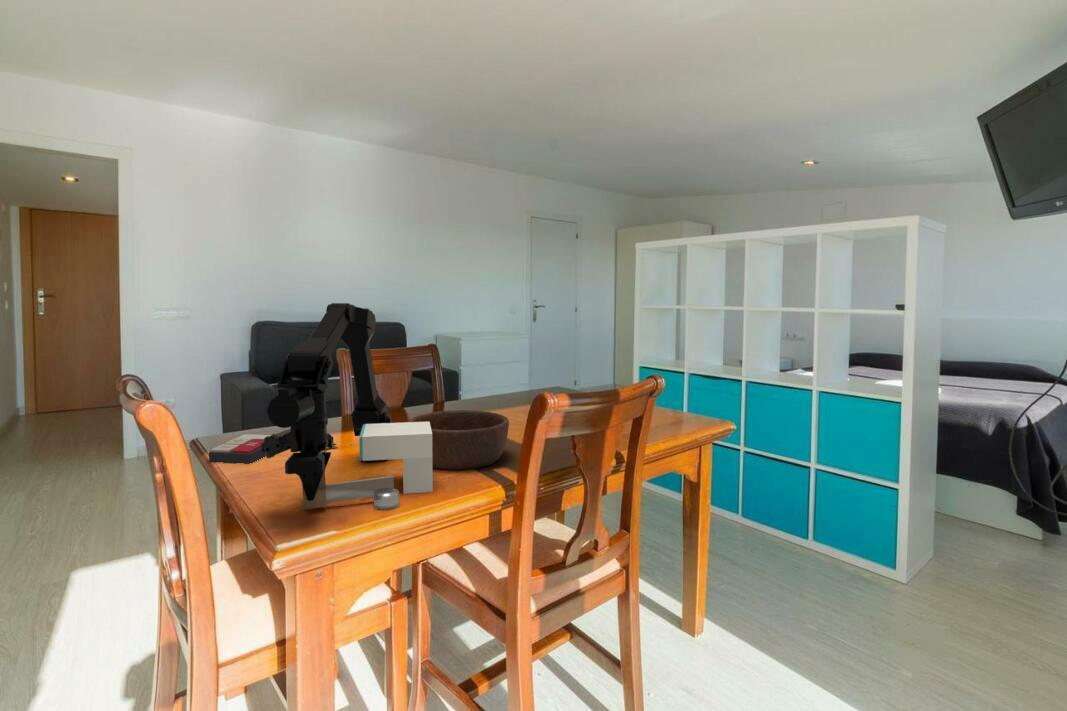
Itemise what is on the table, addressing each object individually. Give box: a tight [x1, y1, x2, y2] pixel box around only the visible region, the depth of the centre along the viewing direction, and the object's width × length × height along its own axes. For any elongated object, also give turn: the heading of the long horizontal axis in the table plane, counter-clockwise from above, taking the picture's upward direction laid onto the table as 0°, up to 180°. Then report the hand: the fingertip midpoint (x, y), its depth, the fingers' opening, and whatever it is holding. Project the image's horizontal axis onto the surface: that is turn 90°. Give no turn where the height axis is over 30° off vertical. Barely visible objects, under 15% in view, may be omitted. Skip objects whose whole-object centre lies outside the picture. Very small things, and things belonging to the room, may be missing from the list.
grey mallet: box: [301, 469, 395, 510], centre depth 114 cm, size 4×17×7 cm, turn 113°
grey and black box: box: [208, 433, 272, 465], centre depth 149 cm, size 11×4×15 cm
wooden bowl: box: [409, 409, 510, 471], centre depth 147 cm, size 25×25×10 cm
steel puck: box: [373, 488, 400, 511], centre depth 114 cm, size 5×5×3 cm
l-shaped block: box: [358, 421, 434, 495], centre depth 126 cm, size 12×15×12 cm
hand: (312, 496), depth 111 cm, fingers closed on grey mallet, 4 cm apart
